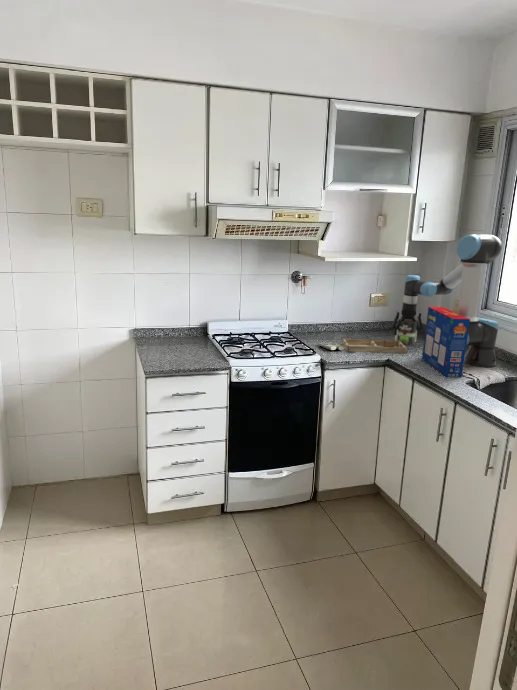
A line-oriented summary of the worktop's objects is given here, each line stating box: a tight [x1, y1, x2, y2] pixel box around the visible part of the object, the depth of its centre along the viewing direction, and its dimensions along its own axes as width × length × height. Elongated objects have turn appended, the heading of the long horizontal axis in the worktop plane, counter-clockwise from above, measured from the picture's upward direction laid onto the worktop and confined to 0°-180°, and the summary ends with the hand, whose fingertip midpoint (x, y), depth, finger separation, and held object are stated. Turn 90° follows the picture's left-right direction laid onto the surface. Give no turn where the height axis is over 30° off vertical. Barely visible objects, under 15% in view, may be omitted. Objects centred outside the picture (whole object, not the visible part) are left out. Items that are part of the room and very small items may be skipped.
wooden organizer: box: [342, 338, 409, 354], centre depth 284 cm, size 16×32×4 cm, turn 90°
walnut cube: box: [383, 339, 395, 347], centre depth 283 cm, size 4×4×4 cm
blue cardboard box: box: [421, 306, 470, 378], centre depth 252 cm, size 28×8×28 cm, turn 5°
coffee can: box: [397, 318, 418, 347], centre depth 296 cm, size 10×10×14 cm
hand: (405, 341), depth 297 cm, fingers closed on coffee can, 10 cm apart
